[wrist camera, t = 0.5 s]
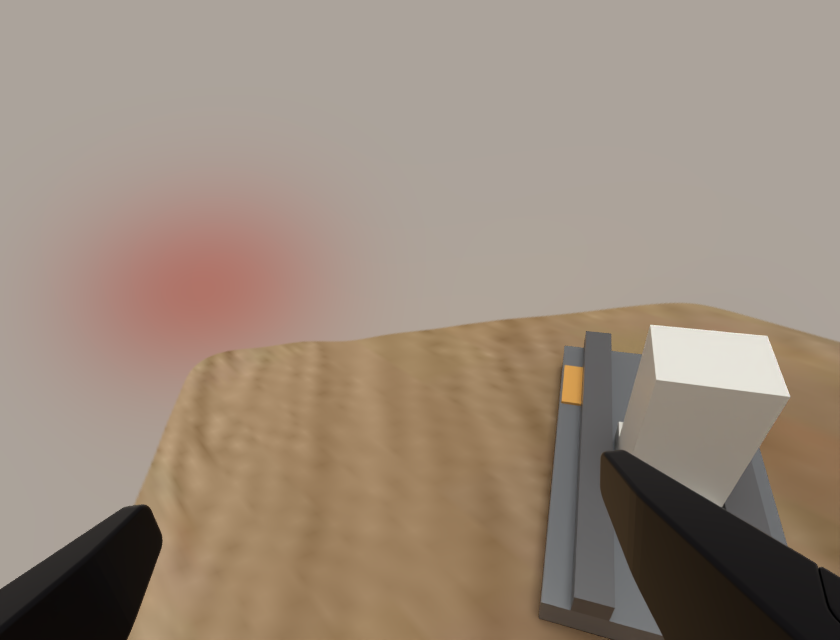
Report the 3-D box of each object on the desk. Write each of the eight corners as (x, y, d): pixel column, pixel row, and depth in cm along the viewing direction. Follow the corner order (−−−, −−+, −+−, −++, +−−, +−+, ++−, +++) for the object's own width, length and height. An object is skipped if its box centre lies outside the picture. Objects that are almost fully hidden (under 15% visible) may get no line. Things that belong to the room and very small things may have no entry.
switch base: (802, 694, 18) (846, 669, 15) (538, 618, 21) (543, 588, 18) (725, 386, 29) (744, 347, 27) (562, 366, 32) (566, 329, 30)
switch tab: (714, 547, 20) (799, 421, 14) (616, 525, 21) (658, 401, 15) (697, 451, 24) (761, 318, 18) (614, 437, 25) (648, 309, 19)
